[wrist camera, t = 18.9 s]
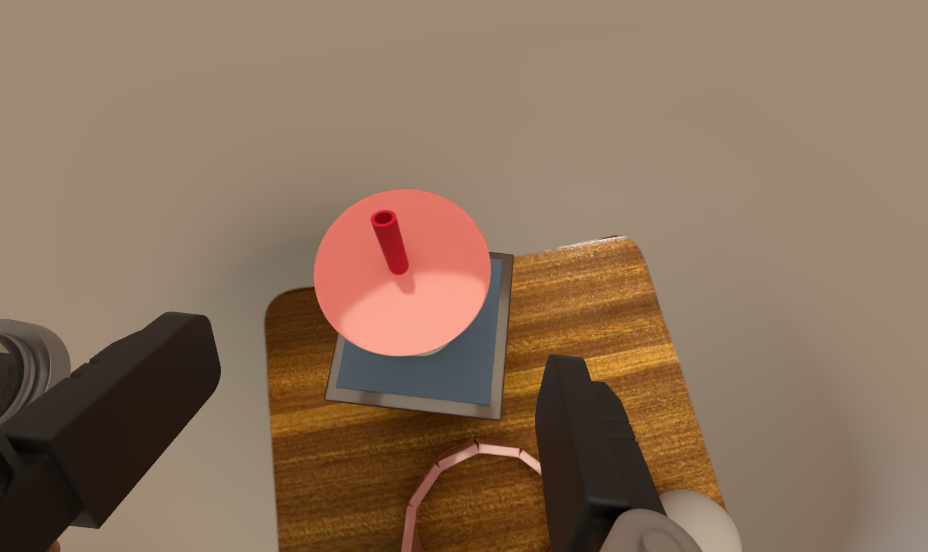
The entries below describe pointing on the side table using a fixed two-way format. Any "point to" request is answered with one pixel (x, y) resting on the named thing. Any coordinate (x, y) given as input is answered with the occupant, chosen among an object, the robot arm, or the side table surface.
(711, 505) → the light bulb
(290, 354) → the side table surface
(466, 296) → the cup
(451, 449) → the pink segmented ring
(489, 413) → the stand
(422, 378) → the coaster
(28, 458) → the robot arm
